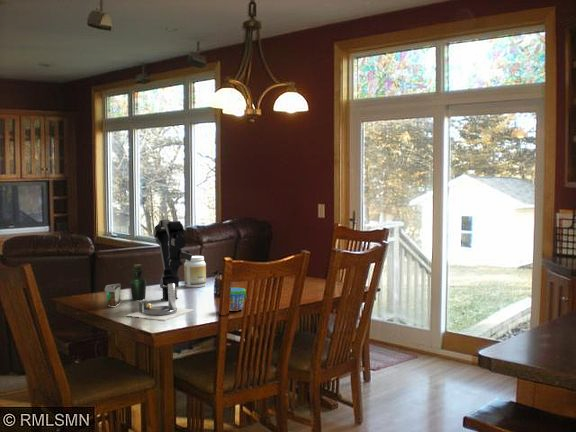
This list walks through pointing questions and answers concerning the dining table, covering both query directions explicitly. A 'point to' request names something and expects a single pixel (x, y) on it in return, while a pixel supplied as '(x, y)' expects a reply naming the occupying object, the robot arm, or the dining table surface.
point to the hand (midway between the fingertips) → (175, 277)
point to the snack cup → (237, 298)
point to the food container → (113, 294)
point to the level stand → (158, 317)
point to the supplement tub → (195, 272)
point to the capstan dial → (163, 309)
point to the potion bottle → (138, 284)
